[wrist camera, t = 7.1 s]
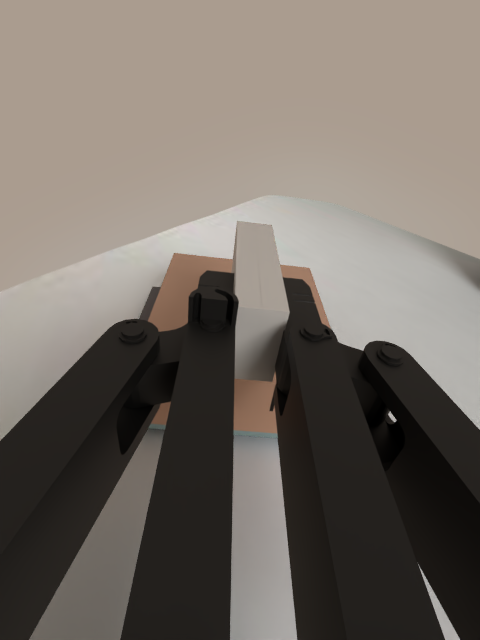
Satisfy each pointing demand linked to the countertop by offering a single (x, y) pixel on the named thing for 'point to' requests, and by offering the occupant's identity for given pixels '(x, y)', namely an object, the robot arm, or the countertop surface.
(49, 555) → the robot arm
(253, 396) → the tile
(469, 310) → the countertop surface
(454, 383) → the countertop surface
